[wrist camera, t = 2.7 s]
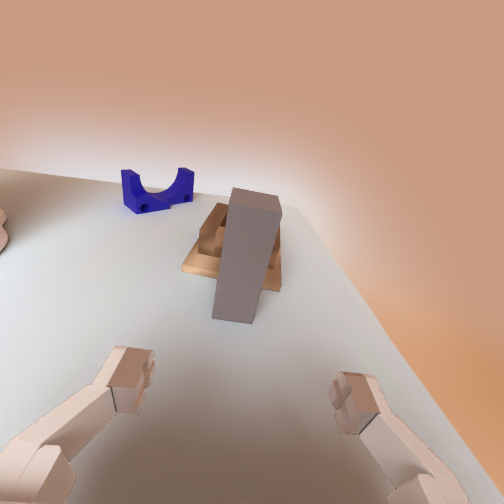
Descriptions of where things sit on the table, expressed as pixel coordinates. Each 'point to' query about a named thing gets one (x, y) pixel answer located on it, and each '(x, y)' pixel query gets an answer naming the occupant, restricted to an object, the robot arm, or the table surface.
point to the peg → (245, 253)
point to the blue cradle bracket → (153, 202)
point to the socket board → (214, 266)
